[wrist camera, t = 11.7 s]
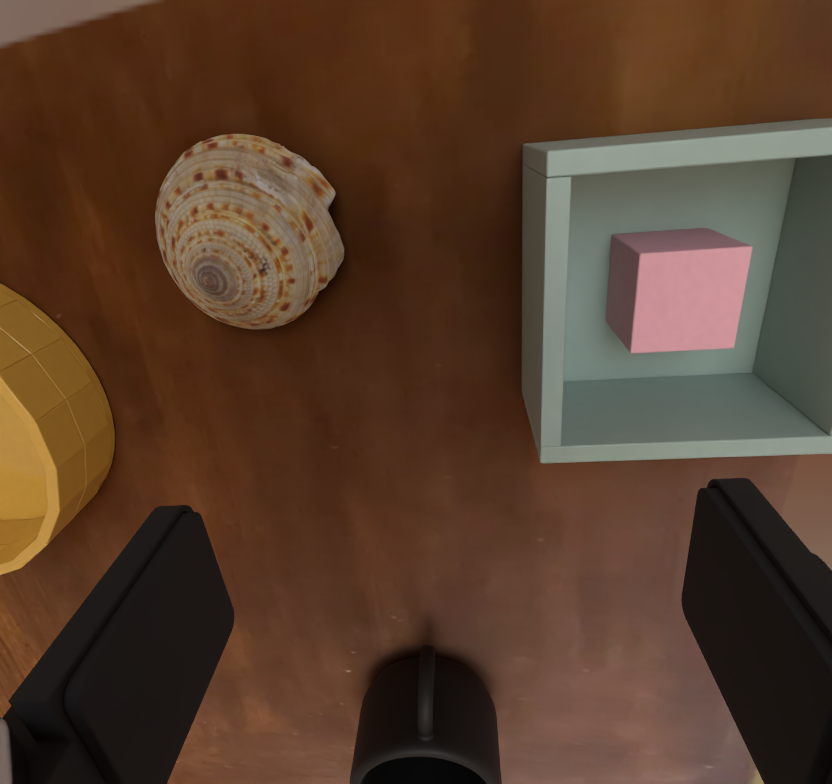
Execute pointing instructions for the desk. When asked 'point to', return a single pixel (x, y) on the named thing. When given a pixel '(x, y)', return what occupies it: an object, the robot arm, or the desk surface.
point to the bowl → (45, 430)
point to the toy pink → (676, 289)
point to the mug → (427, 726)
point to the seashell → (247, 230)
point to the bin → (695, 369)
